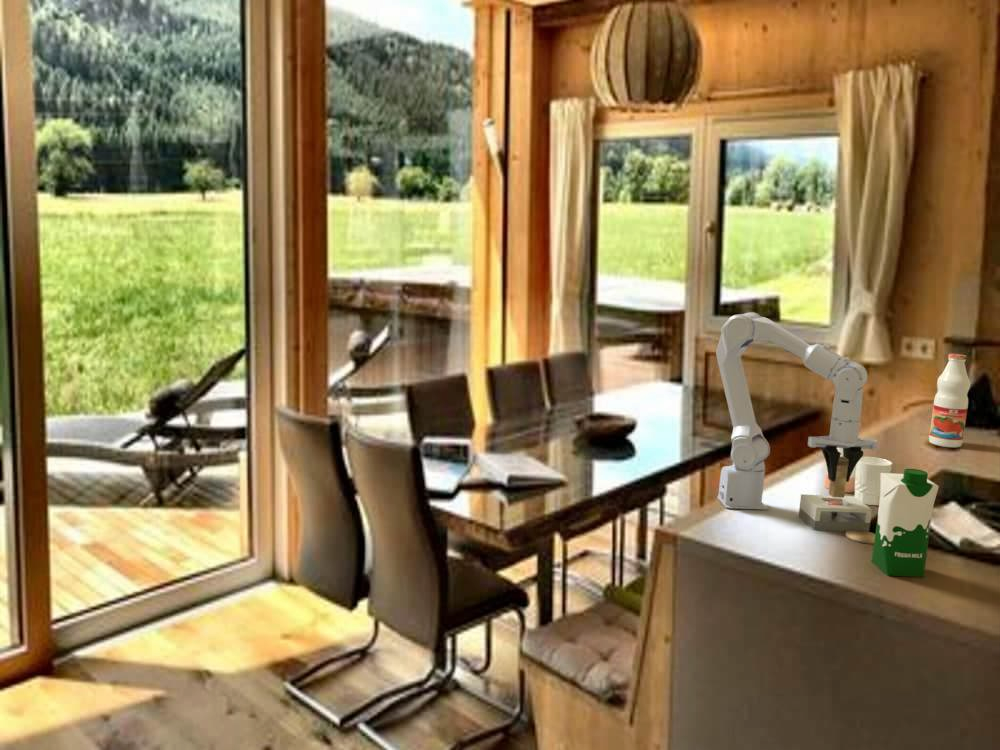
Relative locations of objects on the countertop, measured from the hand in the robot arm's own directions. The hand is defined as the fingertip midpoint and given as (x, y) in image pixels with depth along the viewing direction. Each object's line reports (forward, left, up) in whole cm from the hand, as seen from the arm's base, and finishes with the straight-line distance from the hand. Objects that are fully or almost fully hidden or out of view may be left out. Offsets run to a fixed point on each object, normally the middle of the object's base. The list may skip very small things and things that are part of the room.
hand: (838, 480), depth 197 cm
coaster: (+3, -9, -10) cm, 13 cm away
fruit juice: (+68, +79, -10) cm, 105 cm away
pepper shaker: (+13, +27, -10) cm, 32 cm away
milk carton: (+2, -26, -10) cm, 28 cm away
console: (0, 0, -10) cm, 10 cm away
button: (0, 0, -8) cm, 8 cm away
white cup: (+16, +17, -10) cm, 26 cm away
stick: (0, 0, -3) cm, 3 cm away
